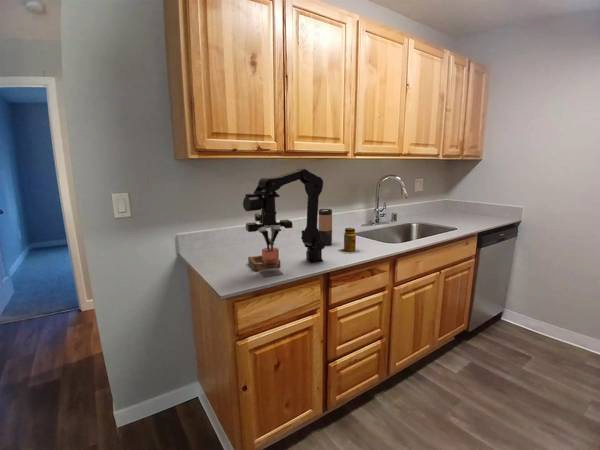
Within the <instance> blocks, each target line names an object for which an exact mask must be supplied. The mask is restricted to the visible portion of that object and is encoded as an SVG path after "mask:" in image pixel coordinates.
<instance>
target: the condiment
mask: <svg viewBox="0 0 600 450" xmlns="http://www.w3.org/2000/svg"><path fill="white" fill-rule="evenodd" d="M356 238H357V235H356V228H354V227H346V228H344V234H343V248H342V249H338V251H339V252H340V253H343V254H349V253H352V254H353V253H357V252H359V250H357V249H356V243H357V242H356Z"/></svg>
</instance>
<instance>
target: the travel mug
mask: <svg viewBox="0 0 600 450" xmlns="http://www.w3.org/2000/svg"><path fill="white" fill-rule="evenodd" d="M318 230H319V233H320V240H321V241H322V242H323V243H324V244H325V247H331V246H332V244H333V241H332V240H333V209H330V208H321V209H318Z"/></svg>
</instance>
